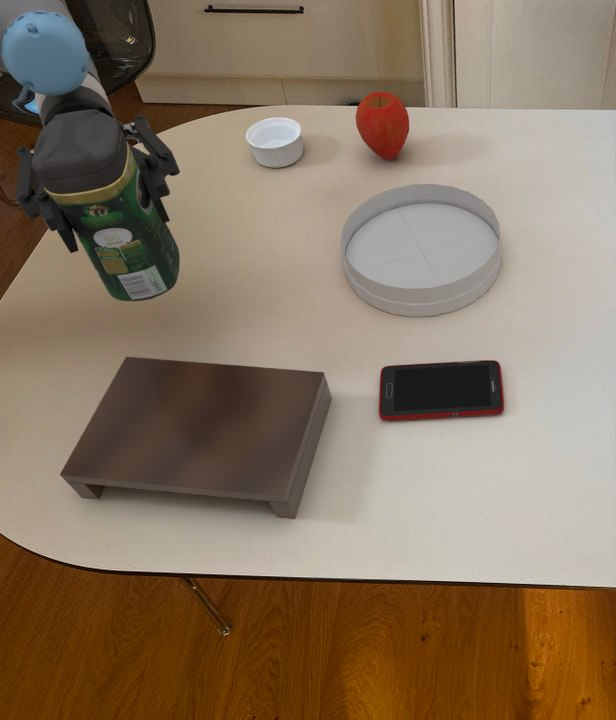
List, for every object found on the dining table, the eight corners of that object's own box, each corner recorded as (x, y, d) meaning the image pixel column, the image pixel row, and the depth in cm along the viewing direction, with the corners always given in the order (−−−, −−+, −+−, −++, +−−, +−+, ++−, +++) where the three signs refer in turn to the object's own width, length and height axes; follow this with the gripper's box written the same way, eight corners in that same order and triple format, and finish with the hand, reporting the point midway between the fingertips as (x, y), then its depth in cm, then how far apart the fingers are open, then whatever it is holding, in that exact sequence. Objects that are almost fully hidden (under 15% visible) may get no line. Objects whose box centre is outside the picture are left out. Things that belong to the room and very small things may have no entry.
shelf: (81, 498, 77) (59, 474, 73) (142, 382, 87) (125, 356, 83) (295, 519, 75) (283, 496, 71) (332, 397, 85) (324, 371, 81)
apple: (351, 156, 116) (339, 95, 108) (391, 135, 120) (383, 75, 111) (383, 179, 112) (373, 118, 104) (424, 157, 115) (418, 96, 107)
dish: (374, 337, 91) (368, 311, 87) (326, 235, 103) (319, 208, 100) (528, 286, 96) (530, 258, 92) (464, 194, 109) (463, 167, 105)
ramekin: (271, 135, 120) (264, 112, 117) (316, 145, 118) (311, 122, 115) (242, 164, 115) (234, 141, 112) (289, 175, 113) (282, 152, 110)
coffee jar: (113, 253, 82) (31, 108, 68) (183, 241, 83) (117, 95, 69) (105, 311, 76) (14, 166, 62) (181, 298, 77) (108, 152, 63)
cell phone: (381, 370, 87) (380, 365, 86) (500, 363, 87) (500, 358, 86) (379, 422, 82) (377, 417, 81) (504, 415, 82) (504, 410, 82)
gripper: (179, 119, 88) (232, 221, 75) (-3, 170, 81) (21, 291, 69) (156, 61, 82) (209, 160, 69) (-41, 111, 75) (-23, 231, 63)
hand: (115, 225), depth 69 cm, fingers closed on coffee jar, 8 cm apart
